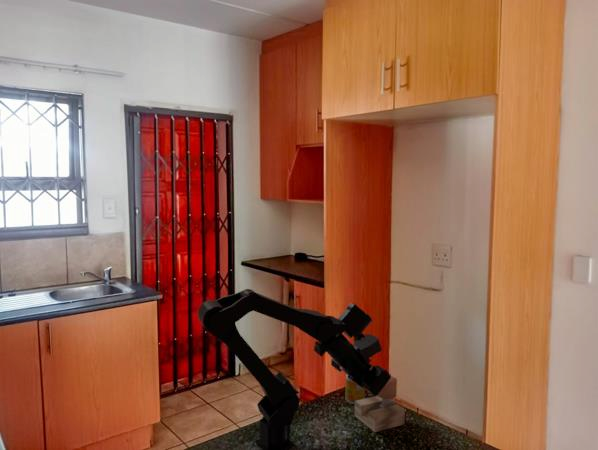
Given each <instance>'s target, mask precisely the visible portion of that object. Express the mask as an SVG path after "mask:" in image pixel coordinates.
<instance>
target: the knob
mask: <svg viewBox="0 0 598 450" xmlns="http://www.w3.org/2000/svg"><path fill="white" fill-rule="evenodd" d="M397 386H398V379H397V378H396V377H394V376H392V375H391V378H390V380H389V381H388V382H387V384H386V385H385V386H384V387H383V389H382V390H381V391H380V392H379V394H378V395H377V396H378V397H380V398H382V404H379V405H378V409H380V408H384V407H388V406H392V405H390V399H391V400H392V399H395V398H396V397H397V392H398V391H397V389H398V387H397Z"/></svg>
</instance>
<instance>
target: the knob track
mask: <svg viewBox="0 0 598 450" xmlns="http://www.w3.org/2000/svg"><path fill="white" fill-rule="evenodd" d="M379 404H382V398H380V397H378V396H371V397H370V396H369V397H365V399H361V400H357V401H355V404H354V417H355V418H356V419H357V420H359V421H360V422H362V423H363V424H364V425H365V426H366V427H367V428H369V429H370V430H371V431H373V433H377V432H382V431H385V430H389V429H392V428H395V427H400V426H403V425H405V420H406V419H405V415H406V412H405V411H406V409H405V408H404V407H403V406H402V405H399V404H398V403H397V402H395V401H394V400H392V399H390V405H392V406H388V407H384V408H380V409H378V405H379Z"/></svg>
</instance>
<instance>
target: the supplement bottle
mask: <svg viewBox="0 0 598 450" xmlns="http://www.w3.org/2000/svg"><path fill="white" fill-rule="evenodd" d="M345 374H346V373H345ZM344 391H345V393H344V394H345V395H344V396H345V397H344V398H345V401H346V402H347V403H348V404H351V405H355V401H357V400H361V399H366V395H365V394H366V390H365V389H364V388H362V387H360V386H359V385H358V384H356V382H353V381H352V380H350V379H349V378H348V375H347V374H346V375H345V390H344Z"/></svg>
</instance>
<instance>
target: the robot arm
mask: <svg viewBox="0 0 598 450" xmlns="http://www.w3.org/2000/svg"><path fill="white" fill-rule="evenodd" d="M251 312H256V313H259V314H261V315H264V316H266V317H270V318H272V319H275V320H278V321H280V322H283V323H285V324H288V325H290V326H293V327H295V328H297V329H298V330H300V331H302V332H303V333H305V334H306V335H308V336H310V337H312V338H313V339H315V340H316V341H315V342H314V344H315V345H314V347H313V351H314V352H315V353H316V354H318V355H319V356H320V357H323V356H324V355H325V353H327V354H328V355H329V357H331V358H332V359H331V361H330V362H331V363H330V364H331V366H332V367H333V369H335V370H336V371H337V372H339V373H342V372H343V373H345V374H347V375H348V378H349V379H350V380H352V381H353V382H356V384H358V385H359V386H360V387H362V388H364V389H365V391H366V392H368V393H369V394H370V395H372V397H374V396H377V395H378V394H379V392H380V391H381V390H382V389H383V387H384V386H385V385H386V384H387V382H388V381H389V380H390V378H391V376H392V374H391V373H390V372H389V371H387V369H385V368H383V367H382V366H380V365H373V364H371V361H372V360H371V359H370V358H372V357H373V356H375V355H376V354H378V353H380V352H382V351H383V348H382V344H381V342H380V339H379V337H378V336H375V335H374V334H371V333H369V334H368V333H365V334H364V333H363V332H364V331H365V329H367V328H368V326H369V325H370V324H371V323H372V321H373V319H372V317H371V316H370V315H369V314H368V313H366V312H365V311H364V310H363V309H362V308H360V307H359V306H358V305H357V304H356V303H354V302H350V303H349V304H348V306H347V307H346V309H345V310H344V311H343V312H342V313H341V315H339V317H335V316H333V315H325V314H323V313H322V312H320V311H318V310H313V309H307V308H297V307H293V306H291V305H288V304H286V303H283V302H282V301H281V302H280V301H278V300H275V299H273V298H271V297H268V296H267V295H266V296H265V295H263V294H261V293H258V292H255V291H254V290H253V289H249V288H245V289H243V290H241V291H239V292H236V293H233V294H229V295H226V296H222V297H221V298H218V299H214V300H213V299H208V300H206V301H204V302H202V304H201V305H200V306H199V308H198V309H197V318H198V320H199V322H200V323H201V325H202V326H203V328H204V329H205V330H206V331H207V332H208V334H211V335H212V336H213V337H215V338H216V339H217V340H218V341H220V342H221V343H222V344H224V345H226V347H228V349H229V350H230V351H231V352H232V354H234V355H235V356H236V357H237V359H238V360H239V361H240V363H242V365H243V366H244V367H245V368H246V370H247V371H248V372H249V373H250V374H251V375H252V376H253V378H254V379H255V380H256V381H257V383H259V385H260V387H261V390H262V392H263V393H264V396H263V397H262V398H261V399H260V400H259V402H258V403H257V405H256V406H257V409H258V411H259V413H260V414H261V415H262V418H260V419H259V438H257V439H256V440H255V444H256V445H258V446H259V447H261V448H262V449H263V450H285V449H287V448H289V447H291V446H293V445H294V441H292V440H291V425H292V422H293V419H294V416H295V413H296V412H297V410H298V409H299V406H300V403H301V399H300V396H299V395H298V394H300V392H299V390H297V388H296V387H294V385H293V384H292V383H291V382H290V380H289V379H288V378H287V377H286V376H285V374H283V373H282V371H280V370H279V371H278V372H277V373H276V374H275V373H273V372H272V371H271V370H270V369H269V367H268V366H267V365H266V364H265V363H264V361H263V360H262V359H261V358H260V357H259V355H258V354H257V353H256V352H255V350H254V349H253V348H252V347H251V346H250V345H249V343H248V342H247V341H246V340H245V339H244V338H243V336H242V335H241V334H240V332H239V329H238V328H237V325H236V323H237V322H238V321H240V320H242V319H243V317H245V316H246V315H248V314H249V313H251ZM346 336H347V337H348V338H350V339H352V338H353V342H354V343H351V342H350V341H349V340H348V338H347V337H346Z"/></svg>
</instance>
